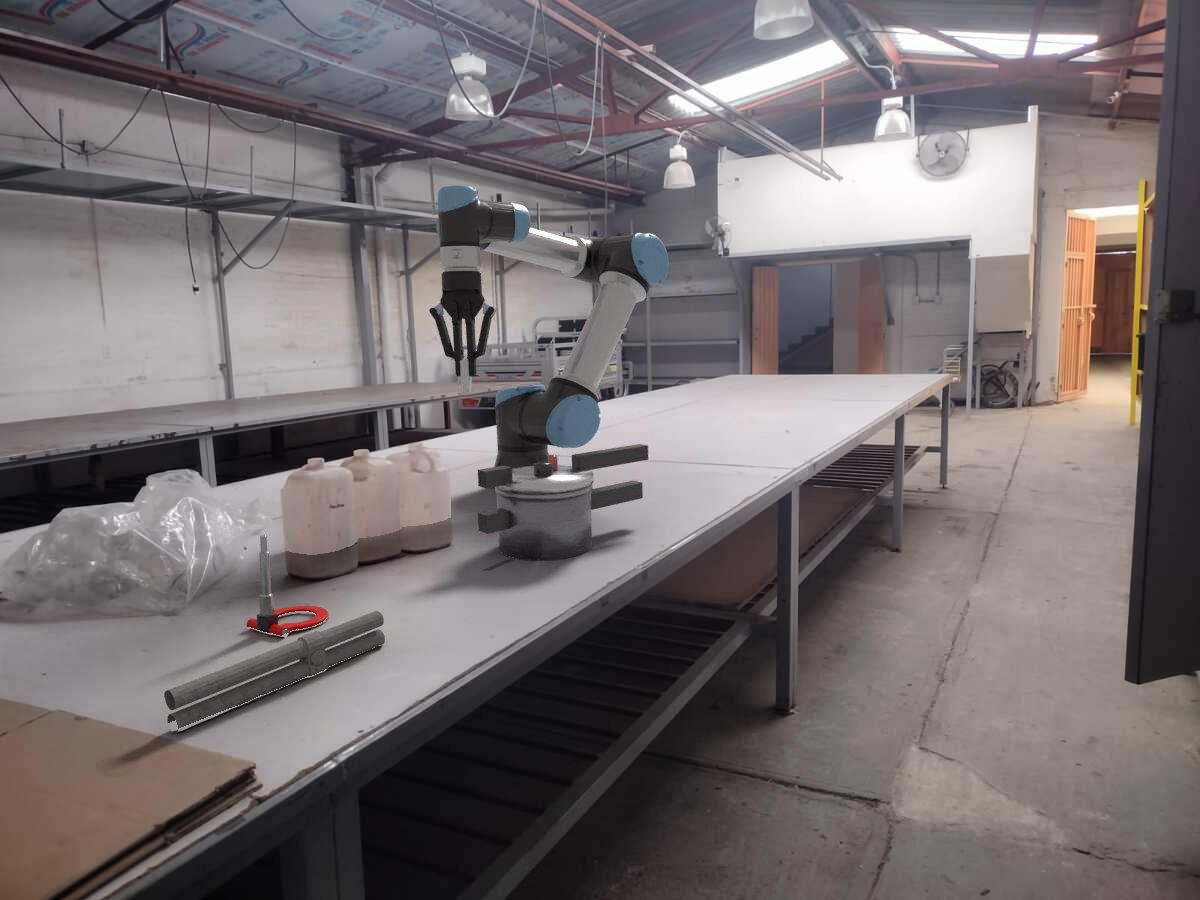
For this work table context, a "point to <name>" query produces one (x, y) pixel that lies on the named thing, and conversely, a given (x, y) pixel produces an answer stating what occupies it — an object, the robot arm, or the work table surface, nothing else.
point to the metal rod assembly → (303, 649)
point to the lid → (559, 471)
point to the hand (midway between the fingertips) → (467, 392)
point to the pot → (551, 520)
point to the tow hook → (268, 615)
